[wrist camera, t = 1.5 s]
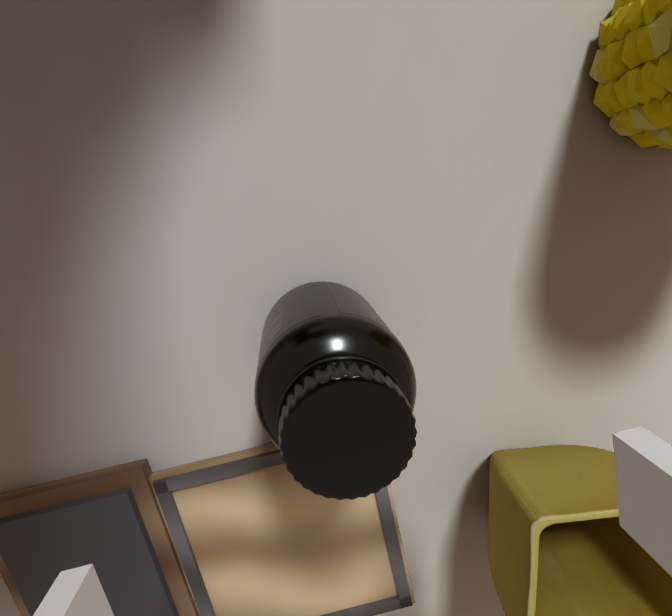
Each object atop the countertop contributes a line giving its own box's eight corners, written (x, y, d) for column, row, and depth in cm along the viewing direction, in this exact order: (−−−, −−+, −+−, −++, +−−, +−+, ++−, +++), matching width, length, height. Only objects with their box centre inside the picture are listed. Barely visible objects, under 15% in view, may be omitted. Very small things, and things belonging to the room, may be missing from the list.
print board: (152, 472, 28) (147, 481, 27) (374, 418, 29) (377, 425, 28) (215, 646, 32) (213, 659, 31) (412, 595, 32) (416, 606, 31)
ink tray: (-20, 498, 28) (-31, 510, 27) (146, 458, 28) (141, 468, 27) (54, 651, 31) (46, 666, 30) (203, 612, 31) (200, 626, 30)
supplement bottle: (307, 410, 28) (319, 562, 17) (239, 323, 27) (199, 423, 15) (401, 348, 28) (480, 457, 16) (338, 254, 26) (376, 303, 15)
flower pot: (462, 424, 29) (534, 521, 21) (592, 412, 30) (715, 501, 21) (460, 541, 32) (524, 673, 23) (581, 527, 32) (688, 650, 24)
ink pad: (-7, 519, 27) (-13, 527, 26) (130, 486, 27) (126, 493, 27) (56, 650, 29) (51, 659, 29) (180, 618, 30) (178, 626, 29)
